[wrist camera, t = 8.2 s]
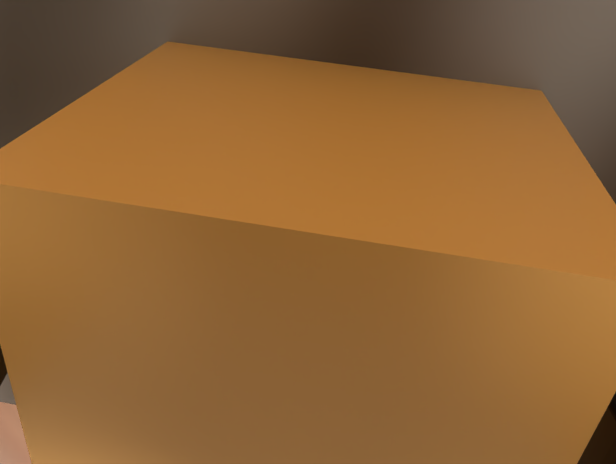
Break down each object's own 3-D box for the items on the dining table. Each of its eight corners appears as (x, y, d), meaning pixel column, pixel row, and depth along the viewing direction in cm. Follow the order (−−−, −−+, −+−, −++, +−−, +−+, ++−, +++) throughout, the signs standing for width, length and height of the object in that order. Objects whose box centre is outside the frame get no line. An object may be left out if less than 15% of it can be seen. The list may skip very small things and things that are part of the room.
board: (1065, -174, 8) (1155, -182, 7) (637, 486, 17) (652, 525, 16) (-177, -285, 10) (-244, -304, 9) (0, 369, 18) (-23, 397, 17)
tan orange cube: (541, 90, 10) (670, 288, 5) (454, 369, 14) (480, 644, 9) (167, 41, 11) (-44, 176, 6) (178, 321, 15) (55, 554, 9)
